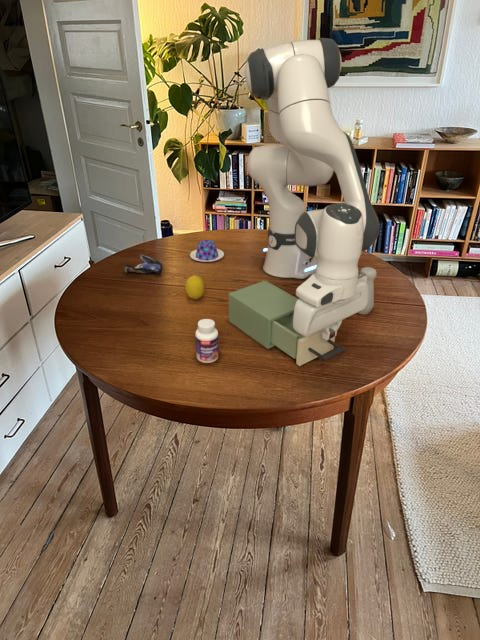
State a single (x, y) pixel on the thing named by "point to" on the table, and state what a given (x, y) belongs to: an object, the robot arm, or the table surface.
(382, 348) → the table surface
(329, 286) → the robot arm
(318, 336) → the drawer
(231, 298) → the cabinet
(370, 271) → the salt shaker
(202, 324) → the pill bottle
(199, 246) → the pudding
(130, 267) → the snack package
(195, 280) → the lemon
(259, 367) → the table surface
